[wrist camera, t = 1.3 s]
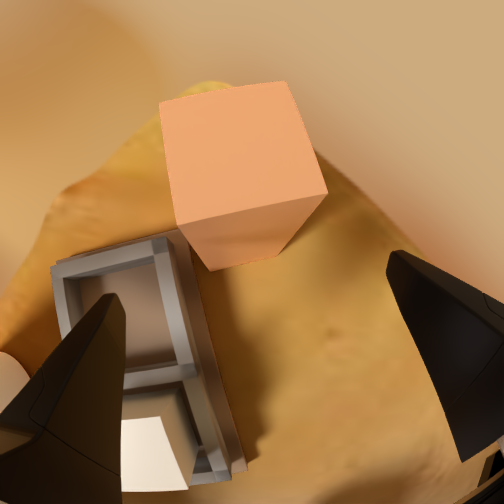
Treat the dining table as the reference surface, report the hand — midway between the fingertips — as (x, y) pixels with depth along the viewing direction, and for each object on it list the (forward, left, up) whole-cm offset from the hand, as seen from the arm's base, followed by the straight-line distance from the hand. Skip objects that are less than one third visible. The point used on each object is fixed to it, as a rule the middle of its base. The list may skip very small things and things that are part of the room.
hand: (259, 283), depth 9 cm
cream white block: (-5, +10, -12) cm, 16 cm away
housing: (-1, +9, -13) cm, 16 cm away
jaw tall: (+5, -2, -13) cm, 14 cm away
